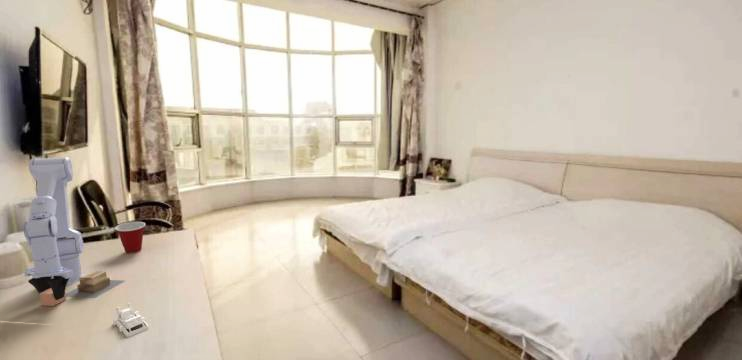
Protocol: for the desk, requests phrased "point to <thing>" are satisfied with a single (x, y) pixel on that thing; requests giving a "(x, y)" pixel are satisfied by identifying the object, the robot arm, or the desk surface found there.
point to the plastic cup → (131, 236)
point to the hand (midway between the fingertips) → (53, 297)
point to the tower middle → (92, 277)
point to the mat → (93, 295)
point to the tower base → (94, 286)
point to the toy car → (129, 320)
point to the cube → (49, 298)
